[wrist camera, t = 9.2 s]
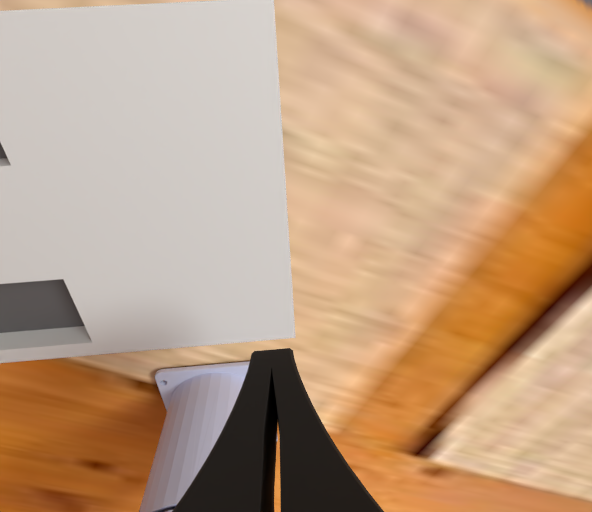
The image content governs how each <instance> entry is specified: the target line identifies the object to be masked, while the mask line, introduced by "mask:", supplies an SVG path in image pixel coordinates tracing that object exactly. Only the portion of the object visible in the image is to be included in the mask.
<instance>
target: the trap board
mask: <svg viewBox="0 0 592 512" xmlns="http://www.w3.org/2000/svg"><path fill="white" fill-rule="evenodd" d="M286 338H295V322H294V307H293V291H292V276H291V260H290V245H289V229H288V214H287V198H286V183H285V167H284V151H283V136H282V120H281V105H280V89H279V74H278V58H277V43H276V27H275V11H274V0H218V1H197V2H176V3H156V4H135V5H114V6H93V7H72V8H51V9H31V10H10V11H0V363H8V362H19V361H31V360H42V359H54V358H66V357H77V356H89V355H100V354H112V353H124V352H135V351H147V350H158V349H170V348H182V347H193V346H205V345H216V344H228V343H240V342H251V341H263V340H274V339H286Z"/></svg>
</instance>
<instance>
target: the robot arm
mask: <svg viewBox="0 0 592 512" xmlns="http://www.w3.org/2000/svg"><path fill="white" fill-rule="evenodd" d="M155 380H156V383H157V386H158V388H159V391H160V394H161V397H162V399H163V402H164V405H165V408H166V410H167V414H166V418H165V421H164V425H163V428H162V432H161V435H160V439H159V443H158V446H157V450H156V453H155V457H154V460H153V464H152V467H151V471H150V474H149V478H148V481H147V485H146V489H145V492H144V496H143V499H142V503H141V506H140V510H139V512H274V482H275V463H276V444H277V440H278V438H277V424H278V425H279V433H280V478H281V512H384V511H383V510H382V509H381V507H380V506H379V505H378V504H377V502H376V501H375V500H374V499H373V497H372V496H371V495H370V494H369V492H368V491H367V490H366V488H365V487H364V486H363V484H362V483H361V482H360V480H359V479H358V477H357V476H356V475H355V473H354V472H353V471H352V469H351V468H350V467H349V465H348V464H347V462H346V461H345V459H344V458H343V456H342V455H341V453H340V452H339V450H338V449H337V447H336V445H335V444H334V442H333V441H332V439H331V437H330V436H329V434H328V432H327V431H326V429H325V427H324V425H323V424H322V422H321V420H320V418H319V416H318V414H317V413H316V411H315V409H314V407H313V405H312V403H311V401H310V398H309V396H308V394H307V392H306V390H305V388H304V385H303V383H302V380H301V378H300V375H299V372H298V370H297V367H296V363H295V360H294V355H293V350H291V349H290V348H287V349H276V350H264V351H254V352H253V353H252V355H251V360H250V361H248V362H236V363H225V364H214V365H202V366H191V367H180V368H168V369H160V370H158V371H157V372H156V374H155ZM163 380H165V381H163Z"/></svg>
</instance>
